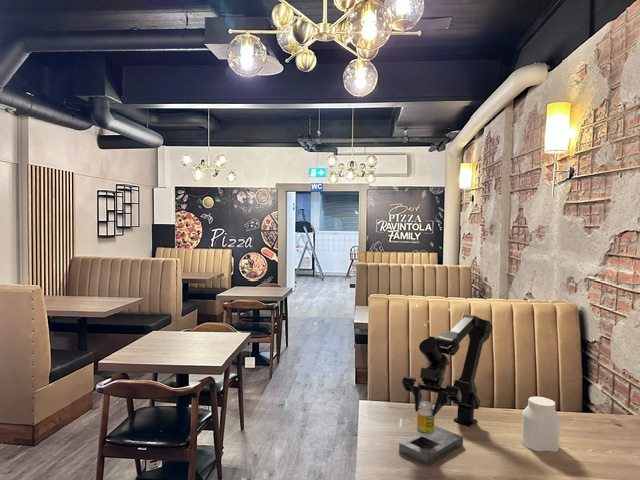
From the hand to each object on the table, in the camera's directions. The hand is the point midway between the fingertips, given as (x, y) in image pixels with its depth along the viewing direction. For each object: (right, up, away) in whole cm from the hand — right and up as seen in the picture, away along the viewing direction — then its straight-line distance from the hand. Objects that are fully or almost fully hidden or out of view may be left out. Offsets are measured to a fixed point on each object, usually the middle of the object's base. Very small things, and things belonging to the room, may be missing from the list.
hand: (424, 413), depth 147 cm
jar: (+41, -14, +9) cm, 44 cm away
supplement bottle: (+1, -7, +1) cm, 7 cm away
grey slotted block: (+2, -13, +4) cm, 14 cm away
